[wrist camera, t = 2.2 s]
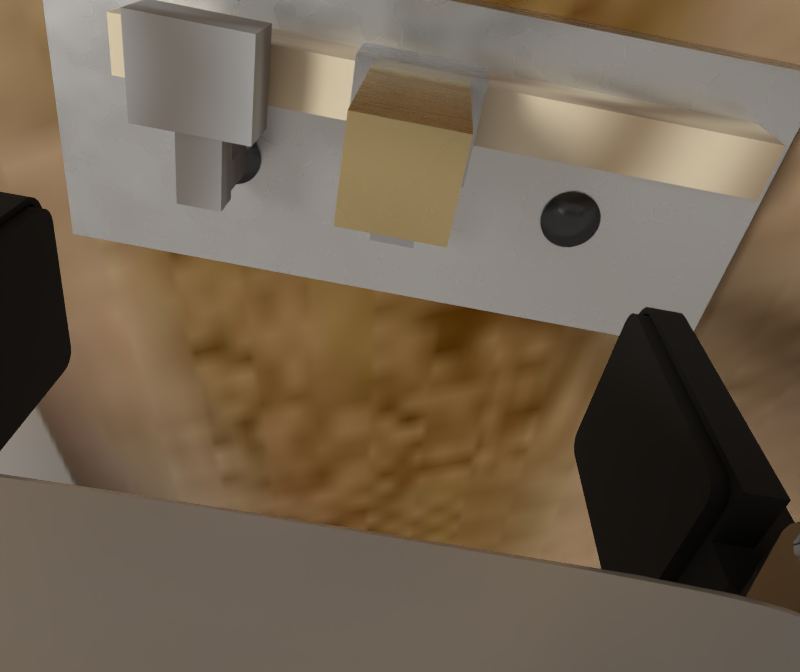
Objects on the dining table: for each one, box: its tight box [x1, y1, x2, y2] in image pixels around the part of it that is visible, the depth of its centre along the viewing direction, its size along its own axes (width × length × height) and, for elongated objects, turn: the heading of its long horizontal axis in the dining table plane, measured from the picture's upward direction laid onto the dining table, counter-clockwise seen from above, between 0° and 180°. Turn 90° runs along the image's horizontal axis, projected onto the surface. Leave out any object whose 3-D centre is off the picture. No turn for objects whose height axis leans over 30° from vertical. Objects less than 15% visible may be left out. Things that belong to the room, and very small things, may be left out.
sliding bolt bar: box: [107, 0, 785, 212], centre depth 23 cm, size 23×6×5 cm, turn 80°
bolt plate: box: [43, 0, 800, 336], centre depth 26 cm, size 28×12×2 cm, turn 80°
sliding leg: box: [334, 42, 489, 248], centre depth 21 cm, size 4×6×9 cm, turn 171°
